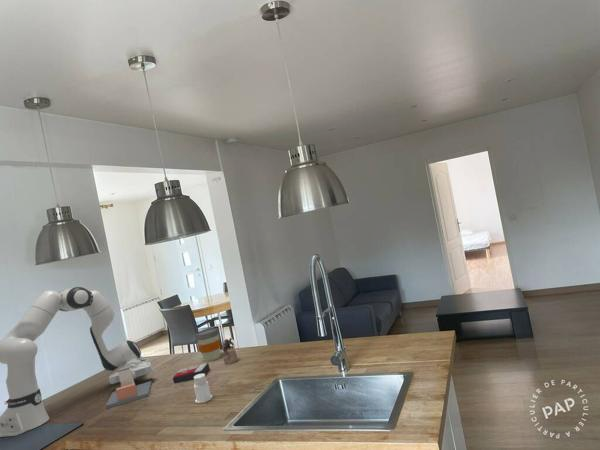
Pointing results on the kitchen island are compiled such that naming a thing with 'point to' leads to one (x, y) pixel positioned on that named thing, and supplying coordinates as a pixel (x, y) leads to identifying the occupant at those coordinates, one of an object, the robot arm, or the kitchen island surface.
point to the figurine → (229, 352)
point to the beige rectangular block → (125, 376)
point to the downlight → (201, 389)
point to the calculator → (191, 372)
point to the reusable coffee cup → (209, 344)
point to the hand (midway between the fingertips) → (129, 377)
